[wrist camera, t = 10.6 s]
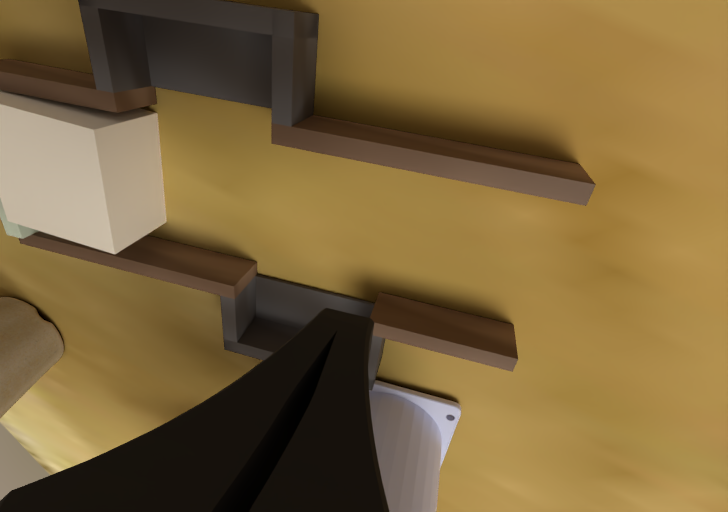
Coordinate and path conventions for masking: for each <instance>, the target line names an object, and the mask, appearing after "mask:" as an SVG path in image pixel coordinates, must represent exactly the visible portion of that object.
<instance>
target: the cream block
mask: <svg viewBox="0 0 728 512" xmlns="http://www.w3.org/2000/svg"><path fill="white" fill-rule="evenodd" d="M0 199H1V202H2V205H3V208H4V211H5V214H6V217H7V221H9V222H12V223H16V224H19V225H22V226H25V227H28V228H32V229H35V230H38V231H41V232H44V233H48V234H51V235H54V236H57V237H60V238H64V239H67V240H70V241H73V242H77V243H80V244H83V245H86V246H89V247H93V248H96V249H99V250H102V251H105V252H109V253H112V254H117V253H118V252H120V251H121V250H123V249H125V248H126V247H128V246H129V245H131V244H133V243H134V242H136V241H137V240H139V239H140V238H142V237H144V236H145V235H147V234H148V233H150V232H152V231H153V230H155V229H156V228H158V227H160V226H161V225H163V224H164V223H166V210H165V198H164V186H163V174H162V162H161V150H160V138H159V126H158V114H157V113H156V112H152V111H148V110H144V109H140V108H136V109H132V110H128V111H123V112H119V113H115V112H110V111H105V110H100V109H95V108H90V107H85V106H80V105H75V104H70V103H64V102H59V101H54V100H49V99H44V98H39V97H34V96H29V95H24V94H19V93H14V92H9V91H4V90H2V91H0Z"/></svg>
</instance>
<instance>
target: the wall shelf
mask: <svg viewBox="0 0 728 512" xmlns="http://www.w3.org/2000/svg"><path fill="white" fill-rule="evenodd" d="M78 2H79V7H80V12H81V17H82V22H83V26H84V31H85V36H86V41H87V46H88V51H89V55H90V60H91V65H92V70H93V74H88V73H83V72H77V71H72V70H66V69H61V68H56V67H50V66H45V65H39V64H34V63H28V62H23V61H18V60H12V59H4V60H0V91H2V90H4V91H9V92H14V93H19V94H24V95H29V96H34V97H39V98H44V99H49V100H54V101H59V102H64V103H70V104H75V105H80V106H85V107H90V108H95V109H100V110H105V111H110V112H115V113H119V112H123V111H128V110H132V109H136V108H141V107H145V106H149V105H154V104H157V100H156V93H155V87H158V88H164V89H169V90H175V91H180V92H186V93H191V94H196V95H202V96H207V97H213V98H218V99H223V100H229V101H234V102H240V103H245V104H251V105H256V106H261V107H267V108H272V144H277V145H282V146H287V147H292V148H297V149H302V150H307V151H312V152H317V153H322V154H327V155H332V156H337V157H342V158H347V159H352V160H358V161H363V162H368V163H373V164H378V165H383V166H388V167H393V168H398V169H403V170H408V171H413V172H418V173H423V174H428V175H433V176H438V177H443V178H448V179H454V180H459V181H464V182H469V183H474V184H479V185H484V186H489V187H494V188H499V189H504V190H509V191H514V192H519V193H524V194H529V195H534V196H539V197H544V198H550V199H555V200H560V201H565V202H570V203H575V204H580V205H585V206H586V205H587V203H588V201H589V198H590V196H591V194H592V192H593V189H594V187H595V185H596V184H595V183H594V182H593V181H592V179H591V178H590V177H589V175H588V174H587V173H586V171H585V170H584V169H583V168H582V166H581V165H580V164H577V163H571V162H566V161H561V160H555V159H550V158H544V157H539V156H533V155H528V154H523V153H517V152H512V151H506V150H501V149H495V148H490V147H484V146H479V145H474V144H468V143H463V142H457V141H452V140H446V139H441V138H436V137H430V136H425V135H419V134H414V133H408V132H403V131H398V130H392V129H387V128H381V127H376V126H370V125H365V124H360V123H354V122H349V121H343V120H338V119H332V118H327V117H322V116H316V115H313V112H314V94H315V76H316V58H317V40H318V22H319V14H313V13H307V12H300V11H293V10H286V9H279V8H272V7H266V6H259V5H252V4H245V3H238V2H231V1H225V0H78ZM0 218H1V220H2V223H3V226H4V228H5V231H6V233H7V235H10V236H14V237H18V238H19V240H20V243H21V244H25V245H28V246H32V247H36V248H40V249H44V250H48V251H52V252H55V253H59V254H63V255H67V256H71V257H75V258H78V259H82V260H86V261H90V262H94V263H98V264H101V265H105V266H109V267H113V268H117V269H121V270H124V271H128V272H132V273H136V274H140V275H144V276H147V277H151V278H155V279H159V280H163V281H167V282H170V283H174V284H178V285H182V286H186V287H190V288H193V289H197V290H201V291H205V292H209V293H213V294H217V295H220V298H221V310H222V323H223V336H224V349H225V350H229V351H232V352H236V353H239V354H243V355H246V356H250V357H253V358H257V359H261V360H265V359H266V358H268V357H269V356H270V355H271V354H273V353H274V352H275V351H276V350H277V349H279V348H280V347H281V346H282V345H284V344H285V343H286V342H287V341H288V340H290V339H291V338H292V337H293V336H294V335H295V334H297V333H298V332H299V331H300V330H301V329H302V328H303V327H304V326H306V325H307V324H308V323H309V322H310V321H311V320H312V319H313V318H314V317H315V316H316V315H317V314H318V313H319V312H320V311H322V310H323V309H325V308H330V309H334V310H338V311H342V312H346V313H351V314H355V315H359V316H363V317H368V318H371V319H372V320H373V322H374V329H373V336H372V343H371V350H370V356H369V363H368V378H369V390H371V391H372V389H373V386H374V382H375V379H376V375H377V372H378V368H379V365H380V361H381V358H382V353H383V348H384V343H385V339H389V340H393V341H397V342H401V343H405V344H408V345H412V346H416V347H420V348H424V349H428V350H431V351H435V352H439V353H443V354H447V355H451V356H454V357H458V358H462V359H466V360H470V361H474V362H477V363H481V364H485V365H489V366H493V367H497V368H500V369H504V370H508V371H512V372H513V369H514V367H515V365H516V363H517V360H518V355H517V348H516V340H515V332H514V325H512V324H508V323H504V322H500V321H496V320H492V319H488V318H484V317H479V316H475V315H471V314H467V313H463V312H459V311H455V310H451V309H447V308H443V307H439V306H434V305H430V304H426V303H422V302H418V301H414V300H410V299H406V298H402V297H398V296H394V295H389V294H385V293H381V292H379V294H378V297H377V299H376V302H375V303H371V302H367V301H363V300H359V299H355V298H351V297H347V296H343V295H339V294H335V293H331V292H327V291H323V290H319V289H315V288H311V287H307V286H303V285H299V284H295V283H291V282H287V281H283V280H279V279H275V278H271V277H267V276H263V275H259V274H257V262H254V261H250V260H246V259H242V258H238V257H234V256H230V255H226V254H222V253H217V252H213V251H209V250H205V249H201V248H197V247H193V246H189V245H185V244H181V243H177V242H172V241H168V240H164V239H160V238H156V237H152V236H148V235H145V236H144V237H142V238H140V239H139V240H137V241H136V242H134V243H133V244H131V245H129V246H128V247H126V248H125V249H123V250H121V251H120V252H118V253H117V254H112V253H109V252H105V251H102V250H99V249H96V248H93V247H89V246H86V245H83V244H80V243H77V242H73V241H70V240H67V239H64V238H60V237H57V236H54V235H51V234H48V233H44V232H41V231H38V230H35V229H32V228H28V227H25V226H22V225H19V224H16V223H12V222H9V221H7V217H6V214H5V211H4V208H3V205H2V202H1V199H0Z"/></svg>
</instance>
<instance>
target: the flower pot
mask: <svg viewBox="0 0 728 512" xmlns="http://www.w3.org/2000/svg"><path fill="white" fill-rule="evenodd" d="M63 352H64V344H63V341H62V339H61V336H60V334H59V332H58V331H57V329H56V328H55V326H54V325H53V324H52V323H51V322H47V321H45V320H43V319H42V318H41V317H40V316H39V315H38V313H37V310H36V308H34V307H33V306H31V305H29V304H28V303H26V302H24V301H21V300H18V299H15V298H11V297H0V418H1V417H2V416H3V415H4V414H5V413H6V412H7V411H8V410H9V409H10V408H11V407H12V406H13V405H14V404H15V403H16V402H17V401H18V400H19V399H20V398H21V397H22V396H23V395H24V394H25V393H26V392H27V391H28V390H29V389H30V388H31V387H32V386H33V385H34V384H35V383H36V382H37V381H38V380H39V379H40V378H41V377H42V376H43V375H44V374H45V373H46V372H47V371H48V370H49V369H50V368H51V367H52V366H53V365H54V364H55V363H56V362H57V361H58V360H59V359H60V358H61V356H62V355H63Z"/></svg>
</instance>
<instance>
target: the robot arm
mask: <svg viewBox="0 0 728 512" xmlns="http://www.w3.org/2000/svg"><path fill="white" fill-rule="evenodd" d="M373 329H374V322H373V320H372V319H371V318H368V317H363V316H359V315H355V314H351V313H346V312H342V311H338V310H334V309H330V308H325V309H323V310H322V311H320V312H319V313H318V314H317V315H316V316H315V317H314V318H313V319H312V320H311V321H310V322H309V323H308V324H307V325H306V326H304V327H303V328H302V329H301V330H300V331H299V332H298V333H297V334H295V335H294V336H293V337H292V338H291V339H290V340H288V341H287V342H286V343H285V344H284V345H282V346H281V347H280V348H279V349H277V350H276V351H275V352H274V353H273V354H271V355H270V356H269V357H268V358H266V359H265V360H264V361H262V362H261V363H260V364H258V365H257V366H255V367H254V368H253V369H251V370H250V371H249V372H247V373H246V374H245V375H243V376H242V377H241V378H239V379H238V380H236V381H235V382H233V383H232V384H230V385H229V386H227V387H226V388H224V389H223V390H221V391H220V392H218V393H217V394H215V395H213V396H212V397H210V398H209V399H207V400H205V401H204V402H202V403H200V404H199V405H197V406H195V407H194V408H192V409H190V410H188V411H186V412H185V413H183V414H181V415H179V416H178V417H176V418H174V419H172V420H171V421H169V422H167V423H165V424H163V425H161V426H159V427H157V428H155V429H154V430H152V431H150V432H148V433H145V434H143V435H141V436H139V437H137V438H135V439H133V440H131V441H129V442H127V443H124V444H122V445H120V446H118V447H116V448H114V449H112V450H110V451H108V452H106V453H103V454H101V455H99V456H97V457H94V458H92V459H90V460H88V461H85V462H83V463H80V464H78V465H75V466H73V467H70V468H68V469H65V470H63V471H60V472H58V473H55V474H53V475H50V476H48V477H45V478H43V479H40V480H38V481H35V482H33V483H30V484H28V485H25V486H22V487H20V488H17V489H15V490H12V491H11V492H9V493H8V494H7V495H6V496H5V497H4V498H3V499H2V500H1V501H0V512H436V511H437V498H438V486H439V474H440V468H441V465H442V462H443V460H444V457H445V454H446V452H447V449H448V446H449V444H450V441H451V439H452V436H453V433H454V431H455V428H456V425H457V423H458V420H459V418H460V415H461V406H460V405H459V404H458V403H456V402H453V401H450V400H446V399H443V398H439V397H435V396H432V395H428V394H425V393H421V392H417V391H414V390H410V389H406V388H403V387H399V386H396V385H392V384H388V383H385V382H381V381H378V380H375V382H374V386H373V389H372V391H371V390H369V378H368V363H369V356H370V350H371V343H372V336H373Z"/></svg>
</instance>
